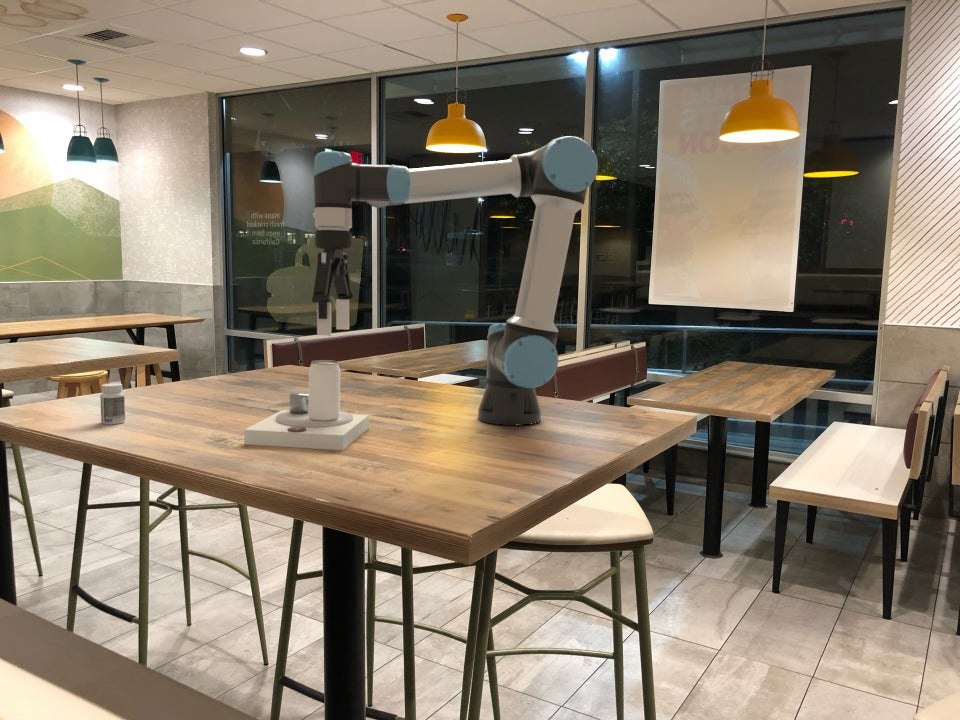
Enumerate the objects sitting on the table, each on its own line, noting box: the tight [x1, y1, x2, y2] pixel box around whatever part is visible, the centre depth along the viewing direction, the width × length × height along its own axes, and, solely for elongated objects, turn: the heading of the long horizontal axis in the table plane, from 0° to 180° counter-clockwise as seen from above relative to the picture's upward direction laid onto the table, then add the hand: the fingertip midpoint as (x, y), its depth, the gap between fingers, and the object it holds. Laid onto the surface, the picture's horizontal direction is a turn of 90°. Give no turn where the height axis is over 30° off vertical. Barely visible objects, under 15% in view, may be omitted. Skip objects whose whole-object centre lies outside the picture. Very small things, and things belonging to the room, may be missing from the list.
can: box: [308, 359, 341, 421], centre depth 156 cm, size 6×6×12 cm
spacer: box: [289, 391, 309, 414], centre depth 163 cm, size 4×4×4 cm
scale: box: [243, 410, 370, 451], centre depth 157 cm, size 20×21×4 cm
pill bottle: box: [99, 382, 126, 425], centre depth 162 cm, size 5×5×8 cm
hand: (333, 332), depth 157 cm, fingers open, 13 cm apart
